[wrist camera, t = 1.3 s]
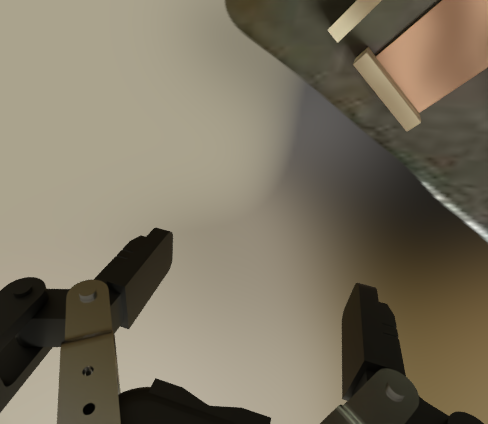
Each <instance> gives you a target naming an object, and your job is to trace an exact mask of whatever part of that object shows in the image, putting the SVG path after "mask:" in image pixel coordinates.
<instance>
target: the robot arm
mask: <svg viewBox="0 0 488 424" xmlns="http://www.w3.org/2000/svg"><path fill="white" fill-rule="evenodd" d="M172 251H173V234H172V232H170V231H166V230H162V229H159V228H154V229H153V230H152V231H151V232H150V234H149V235H147V237H144V236H139V237H137V238H135V239H133V240H131V241H130V242H129V243H128V244H127V245H126V246H125V247H124V248H123V250H121V251H120V252H119V254H118V255H117V257H115V258H114V259H113V260H112V261H111V262H110V263H109V264H108V265H107V266H106V267H105V268H104V269H103V270H102V271H101V273H99V275H98V276H97V277H96V278H95V279H94V280H86V281H82V282H80V283H77V284H76V285H74V286H73V287H72V288H71V289H46V286H45V283H44V282H43V281H42V280H40V279H38V278H34V277H27V278H22V279H18V280H15V281H14V282H11V283H10V284H8V285H7V286H6V287H4V288H3V289H2V290H1V291H0V412H1V411H2V410H3V409H4V407H5V406H6V405H7V404H8V402H9V401H10V400H11V399H12V397H13V396H14V395H15V394H16V392H17V391H18V390H19V388H20V387H21V386H22V385H23V384H24V382H25V381H26V380H27V379H28V377H29V376H30V375H31V374H32V372H33V371H34V370H35V369H36V367H37V366H38V365H39V364H40V362H41V361H42V360H43V359H44V357H45V356H46V355H47V354H48V352H49V351H50V350H51V349H52V347H61V351H60V372H59V393H58V412H57V424H270V421H271V418H270V417H267V416H264V415H261V414H258V413H255V412H252V411H249V410H247V409H244V408H237V407H219V406H209V405H207V404H206V403H204V402H202V401H201V400H200V399H198V398H197V397H195V396H194V395H192V394H191V393H190V392H188V391H187V390H185V389H184V388H182V387H179V386H176V385H173V384H171V383H168V382H165V381H162V380H159V379H155V380H154V382H153V384H152V386H151V387H142V388H136V389H131V390H128V391H125V392H123V393H120V384H119V375H118V365H117V355H116V345H115V335H114V333H115V332H116V331H117V329H118V328H119V327H120V326H121V327H124V328H127V329H129V328H130V327H131V325H132V324H133V322H134V321H135V319H136V318H137V317H138V315H139V314H140V312H141V311H142V309H143V308H144V306H145V305H146V303H147V302H148V300H149V299H150V298H151V296H152V295H153V293H154V292H155V290H156V289H157V287H158V286H159V284H160V283H161V281H162V280H163V278H164V277H165V276H166V274H167V273H168V271H169V269H170V266H171V263H172V253H173V252H172ZM342 393H343V394H342V399H344V400H347V402H346V403H345V404H344V405H343V406H342V405H339V406H338V407H337V408H336V409H335V410H334V411H333V412H331V413H330V415H328V416H327V417H326V418H325V419H324V420H323V421H322V422H321V423H320V424H484V423H482V422H481V421H480V420H479V419H477V418H476V417H474V416H472V415H470V414H468V413H465V412H454V413H452V414H451V415H450V416H448V415H446V414H445V413H443V412H441V411H440V410H438V409H437V408H435V407H433V406H432V405H430V404H428V403H427V402H425V401H424V400H423V399H422V398H420V397H419V395H418V392H417V390H416V388H415V386H414V385H413V383H412V382H411V381H410V380H409V379H408V378H407V377H406V375H405V370H404V364H403V359H402V354H401V348H400V343H399V339H398V333H397V329H396V322H395V316H394V314H393V313H392V311H391V310H390V308H389V307H388V305H387V304H385V303H381V302H379V301H378V294H377V289H376V288H375V287H371V286H367V285H364V284H360V283H356V284H355V286H354V288H353V290H352V293H351V295H350V297H349V299H348V302H347V304H346V306H345V309H344V312H343V317H342Z"/></svg>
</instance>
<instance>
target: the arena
mask: <svg viewBox="0 0 488 424" xmlns="http://www.w3.org/2000/svg"><path fill="white" fill-rule="evenodd" d="M381 1H382V0H357V1H356V2H355V3H354V4H353V5H352V6H351V7H350V8H349V9H348V10H347V11H346V12H345V13H344V14H343V15H342V16H341V17H340V18H339V19H338V20H337V21H336V22H335V23H334V24H333V25H332V26H331V27H330V28H329V29H328V31H329V33H330V34H331V35H332V36H333V38H334V39H335V40H336V41H337V43H338V42H339V41H340V40H341V39H342V38H343V37H344V36H345V35H346V34H347V33H348V32H349V31H350V30H352V29H353V28H354V27H355V26H356V25H357V24H358V23H359V22H360V21H361V20H362V19H363V18H364V17H365V16H366V15H367V14H368V13H369V12H370V11H371V10H372V9H373V8H374V7H375V6H376V5H378V4H379V3H380V2H381ZM353 65H354V66H355V68H356V69H357V70H358V71H359V73H360V74H361V75H362V76H363V78H364V79H365V80H366V81H367V83H368V84H369V85H370V86H371V88H372V89H373V90H374V91H375V93H376V94H377V95H378V96H379V98H380V99H381V100H382V101H383V103H384V104H385V105H386V106H387V108H388V109H389V110H390V111H391V113H392V114H393V115H394V116H395V118H396V119H397V120H398V121H399V123H400V124H401V125H402V126H403V128H404V129H405V130H406V131H409V130H410V129H412V128H413V127H415V126H416V125H418V124H420V123H421V119H420V114H419V113H420V112H421V111H423V110H424V109H426V108H427V107H429V106H430V105H432V104H433V103H435V102H436V101H438V100H439V99H441V98H442V97H444V96H445V95H447V94H448V93H450V92H451V91H453V90H454V89H456V88H457V87H459V86H460V85H462V84H463V83H465V82H466V81H468V80H469V79H471V78H472V77H474V76H475V75H477V74H478V73H480V72H481V71H483V70H484V69H486V68H487V67H488V0H442V1H440V2H439V3H438V4H437V5H436V6H435V7H433V8H432V9H431V10H430V11H429V12H428V13H426V14H425V15H424V16H423V17H422V18H421V19H419V20H418V21H417V22H416V23H415V24H413V25H412V26H411V27H410V28H409V29H408V30H406V31H405V32H404V33H403V34H402V35H401V36H399V37H398V38H397V39H396V40H395V41H393V42H392V43H391V44H390V45H389V46H388V47H386V48H385V49H384V50H383V51H382V52H381V53H379V54H378V55H377V56H375V55H374V53H373V52H372V51H371V50H370V48H369V47H367V48H366V49H365V50H364V51H363V52H362V53H361V54H360V55H358V56H357V57H356V58H355V61H354V63H353Z"/></svg>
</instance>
